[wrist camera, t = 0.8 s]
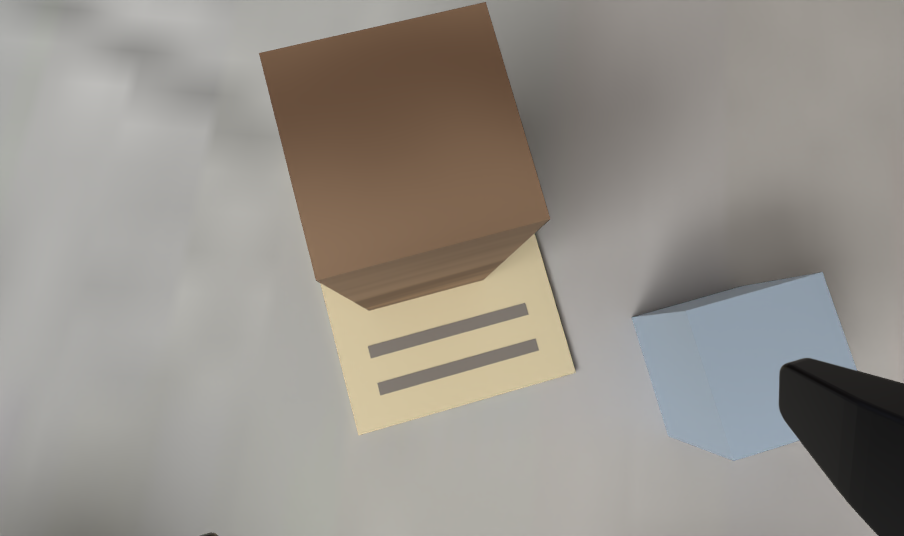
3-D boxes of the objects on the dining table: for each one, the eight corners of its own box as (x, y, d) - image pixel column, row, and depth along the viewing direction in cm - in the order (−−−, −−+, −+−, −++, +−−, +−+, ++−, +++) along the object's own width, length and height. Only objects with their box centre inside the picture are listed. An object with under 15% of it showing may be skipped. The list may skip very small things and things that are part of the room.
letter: (574, 372, 23) (575, 372, 23) (359, 434, 23) (358, 435, 22) (493, 100, 25) (494, 97, 24) (287, 149, 24) (286, 147, 24)
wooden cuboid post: (483, 279, 23) (550, 218, 12) (369, 310, 23) (315, 280, 11) (452, 169, 24) (485, 1, 12) (340, 197, 23) (258, 53, 12)
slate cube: (779, 401, 24) (873, 417, 19) (667, 435, 23) (734, 460, 18) (740, 286, 24) (822, 272, 19) (630, 317, 24) (685, 311, 19)
